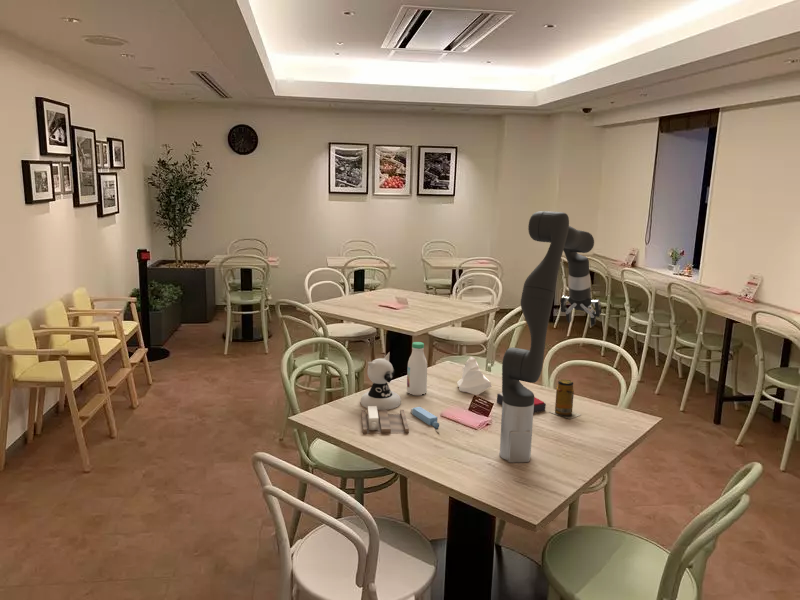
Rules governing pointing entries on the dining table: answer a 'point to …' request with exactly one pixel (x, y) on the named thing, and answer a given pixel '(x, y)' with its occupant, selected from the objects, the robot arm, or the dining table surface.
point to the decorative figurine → (380, 386)
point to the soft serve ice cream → (473, 378)
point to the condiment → (564, 399)
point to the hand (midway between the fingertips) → (581, 323)
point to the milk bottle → (417, 370)
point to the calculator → (538, 403)
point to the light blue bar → (425, 416)
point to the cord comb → (386, 423)
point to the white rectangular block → (373, 418)
